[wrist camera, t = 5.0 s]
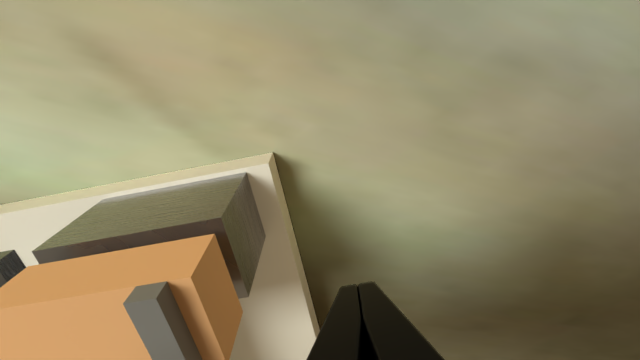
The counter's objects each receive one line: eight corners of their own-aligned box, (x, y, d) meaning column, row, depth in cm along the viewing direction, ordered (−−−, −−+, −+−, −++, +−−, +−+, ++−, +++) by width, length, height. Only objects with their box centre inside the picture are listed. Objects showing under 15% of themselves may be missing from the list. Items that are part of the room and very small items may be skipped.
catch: (73, 338, 12) (8, 415, 9) (27, 266, 11) (-59, 333, 8) (243, 311, 11) (221, 386, 9) (214, 233, 10) (181, 294, 8)
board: (71, 446, 24) (56, 471, 23) (-96, 223, 17) (-132, 239, 16) (341, 411, 22) (342, 435, 21) (273, 152, 16) (268, 163, 14)
